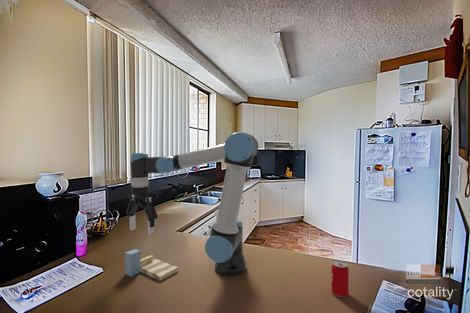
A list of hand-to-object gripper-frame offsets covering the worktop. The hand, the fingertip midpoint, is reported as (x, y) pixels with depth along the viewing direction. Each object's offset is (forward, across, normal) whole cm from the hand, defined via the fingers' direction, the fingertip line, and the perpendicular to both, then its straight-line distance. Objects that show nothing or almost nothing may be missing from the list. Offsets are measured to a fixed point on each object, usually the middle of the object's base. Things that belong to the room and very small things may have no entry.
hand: (141, 231), depth 114 cm
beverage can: (+21, -80, -32) cm, 89 cm away
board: (+19, -4, -4) cm, 20 cm away
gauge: (+19, +3, -1) cm, 19 cm away
